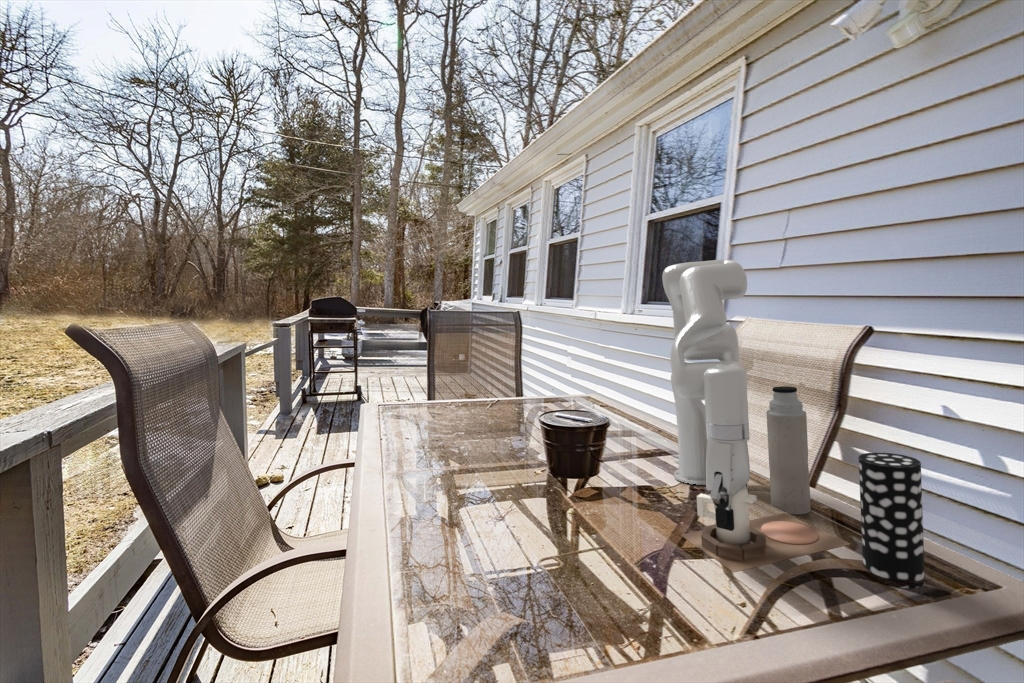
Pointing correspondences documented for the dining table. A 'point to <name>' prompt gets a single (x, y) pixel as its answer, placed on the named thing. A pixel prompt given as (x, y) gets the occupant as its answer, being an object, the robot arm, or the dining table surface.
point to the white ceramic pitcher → (740, 516)
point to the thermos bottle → (788, 452)
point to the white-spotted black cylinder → (892, 517)
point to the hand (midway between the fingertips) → (732, 521)
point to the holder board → (766, 542)
